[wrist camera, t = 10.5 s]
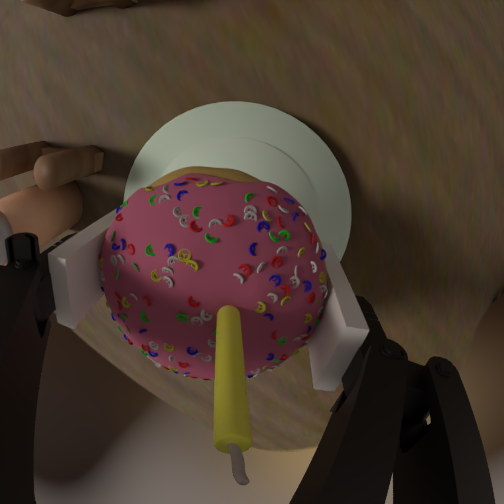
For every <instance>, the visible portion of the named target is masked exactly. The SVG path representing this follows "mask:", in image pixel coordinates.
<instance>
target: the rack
mask: <svg viewBox="0 0 504 504" xmlns="http://www.w3.org/2000/svg"><path fill="white" fill-rule="evenodd" d="M21 1H22V2H24V3H27V4H30V5H33V6H37V7H40V8H43V9H46V10H48V11H51V12H54V13H57V14H60V15H62V16H65V17H68V16H71V15H73V14H74V13H75V12H76V11H77V10H83V9H88V8H94V7H101V6H109V5H114V6H116V7H117V8H121V9H123V8H127V7H129V6H131V5H133V4H134V3H137V2H138V0H21ZM103 156H104V153H103V152H101V151H100V149H99V148H98V147H96V146H93V145H90V146H85V147H79V148H74V149H68V148H57V147H49V145H48V144H47V143H46V142H44V141H40V142H34V143H29V144H24V145H19V146H15V147H10V148H6V149H2V150H0V181H1V180H4V179H6V178H9V177H12V176H15V175H18V174H21V173H24V172H27V171H31V170H34V179H35V182H36V184H37V185H38V187H39V188H40V189H42V190H44V191H49V190H51V189H54V188H56V187H59V186H61V185H64V184H67V183H69V182H72V181H75V180H77V179H80V178H83V177H86V176H88V175H91V174H94V173H96V172H98V171H100V170H102V165H103Z"/></svg>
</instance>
